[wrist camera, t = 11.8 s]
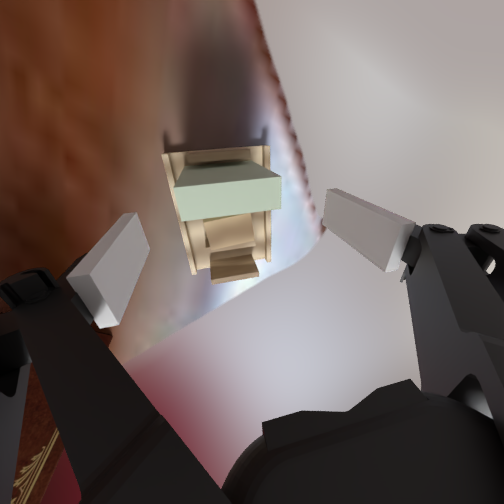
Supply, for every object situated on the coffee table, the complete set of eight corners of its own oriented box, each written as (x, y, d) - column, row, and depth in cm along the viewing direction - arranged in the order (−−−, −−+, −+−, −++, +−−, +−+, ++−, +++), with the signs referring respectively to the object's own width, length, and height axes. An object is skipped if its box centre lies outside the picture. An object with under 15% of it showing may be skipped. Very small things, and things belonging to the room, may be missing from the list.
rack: (267, 255, 42) (278, 275, 36) (192, 267, 40) (191, 290, 34) (265, 145, 32) (279, 147, 26) (164, 153, 30) (155, 157, 24)
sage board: (184, 166, 30) (173, 187, 18) (251, 160, 32) (281, 176, 20) (189, 188, 32) (181, 221, 20) (252, 181, 33) (280, 208, 21)
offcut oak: (203, 214, 31) (203, 222, 28) (246, 205, 31) (250, 212, 28) (210, 240, 33) (211, 250, 30) (250, 231, 34) (254, 240, 31)
